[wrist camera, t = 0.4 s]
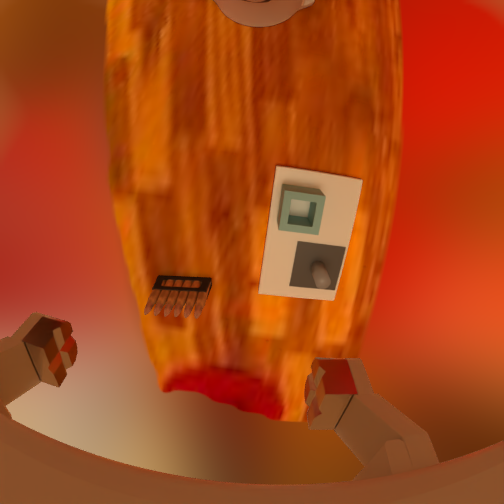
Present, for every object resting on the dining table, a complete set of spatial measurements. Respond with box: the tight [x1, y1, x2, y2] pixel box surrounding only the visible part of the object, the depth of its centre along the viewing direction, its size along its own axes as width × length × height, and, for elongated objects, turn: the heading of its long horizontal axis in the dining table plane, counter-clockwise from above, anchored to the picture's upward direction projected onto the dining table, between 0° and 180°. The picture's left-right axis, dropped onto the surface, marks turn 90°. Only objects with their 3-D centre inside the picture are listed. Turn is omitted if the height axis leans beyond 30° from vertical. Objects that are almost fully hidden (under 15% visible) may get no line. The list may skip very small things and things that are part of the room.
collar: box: [277, 184, 326, 235], centre depth 49 cm, size 6×6×5 cm
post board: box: [258, 165, 363, 301], centre depth 51 cm, size 24×15×8 cm, turn 173°
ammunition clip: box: [144, 275, 212, 318], centre depth 54 cm, size 11×2×12 cm, turn 89°
